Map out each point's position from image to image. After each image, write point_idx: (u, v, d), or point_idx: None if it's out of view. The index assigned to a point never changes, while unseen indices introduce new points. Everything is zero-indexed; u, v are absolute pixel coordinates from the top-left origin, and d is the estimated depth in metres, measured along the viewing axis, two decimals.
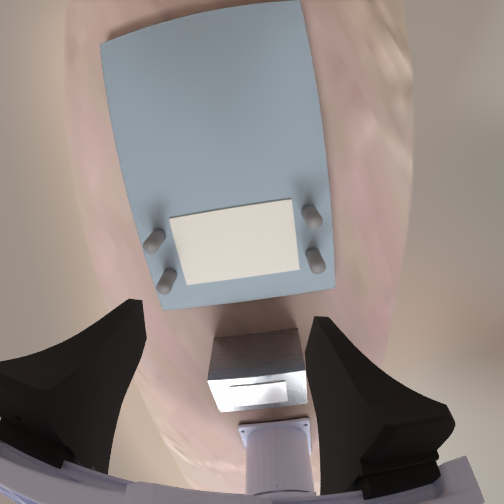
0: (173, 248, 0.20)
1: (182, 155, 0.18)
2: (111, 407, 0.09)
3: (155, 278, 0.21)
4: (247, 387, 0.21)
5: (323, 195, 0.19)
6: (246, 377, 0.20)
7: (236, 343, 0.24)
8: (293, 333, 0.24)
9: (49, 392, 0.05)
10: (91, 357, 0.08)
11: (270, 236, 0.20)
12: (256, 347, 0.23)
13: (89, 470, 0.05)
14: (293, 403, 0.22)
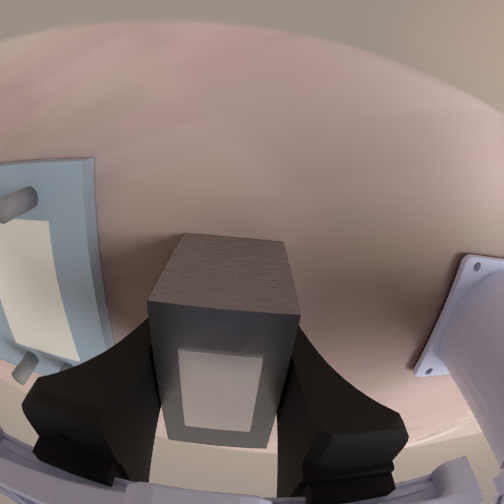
0: (42, 352, 0.14)
1: None
2: (152, 416, 0.09)
3: None
4: (192, 407, 0.09)
5: None
6: (161, 398, 0.09)
7: None
8: None
9: (106, 409, 0.05)
10: (139, 367, 0.08)
11: (12, 251, 0.11)
12: None
13: None
14: (284, 346, 0.08)
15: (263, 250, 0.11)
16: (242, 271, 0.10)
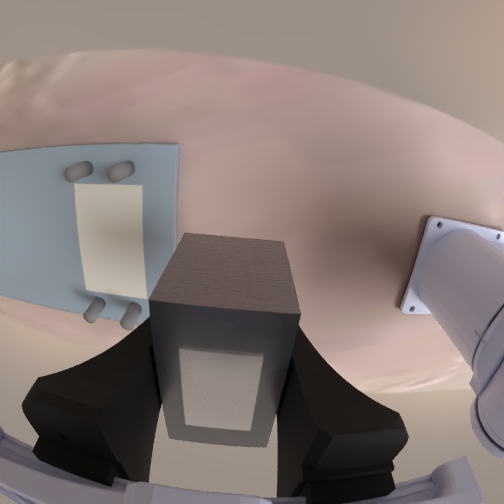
0: (111, 296, 0.21)
1: (44, 262, 0.20)
2: (152, 416, 0.09)
3: (139, 321, 0.21)
4: (193, 405, 0.09)
5: (74, 152, 0.16)
6: (161, 397, 0.09)
7: None
8: None
9: (106, 409, 0.05)
10: (139, 367, 0.08)
11: (103, 209, 0.18)
12: None
13: None
14: (285, 345, 0.08)
15: (263, 249, 0.11)
16: (242, 271, 0.10)
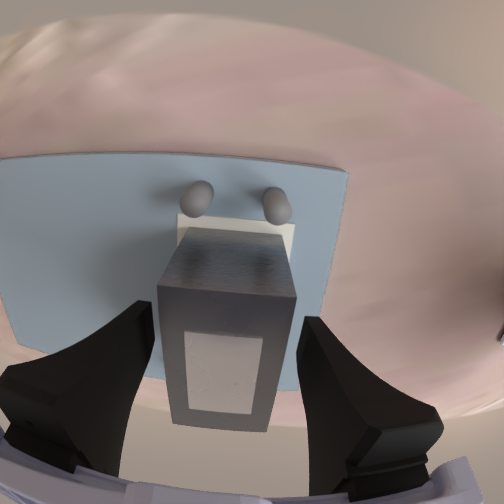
0: None
1: None
2: (121, 410, 0.09)
3: None
4: (196, 389, 0.10)
5: (180, 165, 0.12)
6: (166, 381, 0.10)
7: None
8: None
9: (63, 397, 0.05)
10: (103, 360, 0.08)
11: None
12: None
13: (89, 470, 0.05)
14: (282, 327, 0.09)
15: (263, 241, 0.12)
16: (243, 260, 0.10)
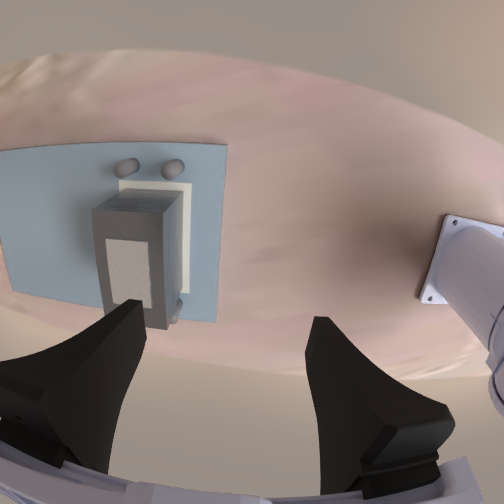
0: None
1: (79, 259, 0.21)
2: (111, 407, 0.09)
3: (179, 316, 0.23)
4: (116, 285, 0.16)
5: (120, 149, 0.18)
6: (99, 280, 0.16)
7: None
8: None
9: (49, 392, 0.05)
10: (91, 357, 0.08)
11: None
12: None
13: (89, 470, 0.05)
14: (158, 234, 0.15)
15: (166, 193, 0.18)
16: (145, 200, 0.16)
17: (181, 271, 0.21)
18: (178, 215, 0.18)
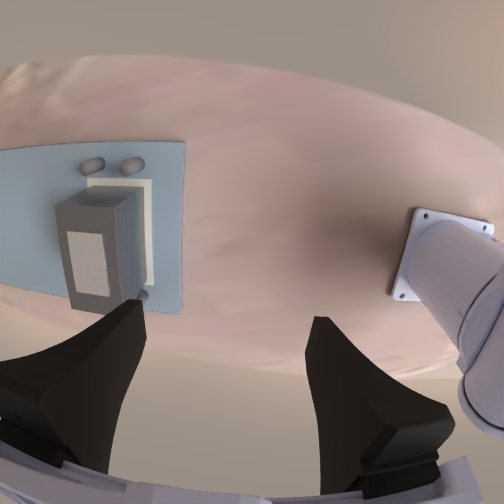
0: None
1: (55, 252, 0.21)
2: (111, 407, 0.09)
3: (146, 307, 0.23)
4: (78, 274, 0.16)
5: (88, 149, 0.18)
6: (64, 270, 0.16)
7: None
8: None
9: (49, 392, 0.05)
10: (91, 357, 0.08)
11: None
12: None
13: (89, 470, 0.05)
14: (110, 227, 0.15)
15: (127, 189, 0.18)
16: (104, 196, 0.17)
17: (144, 264, 0.21)
18: (137, 209, 0.18)
